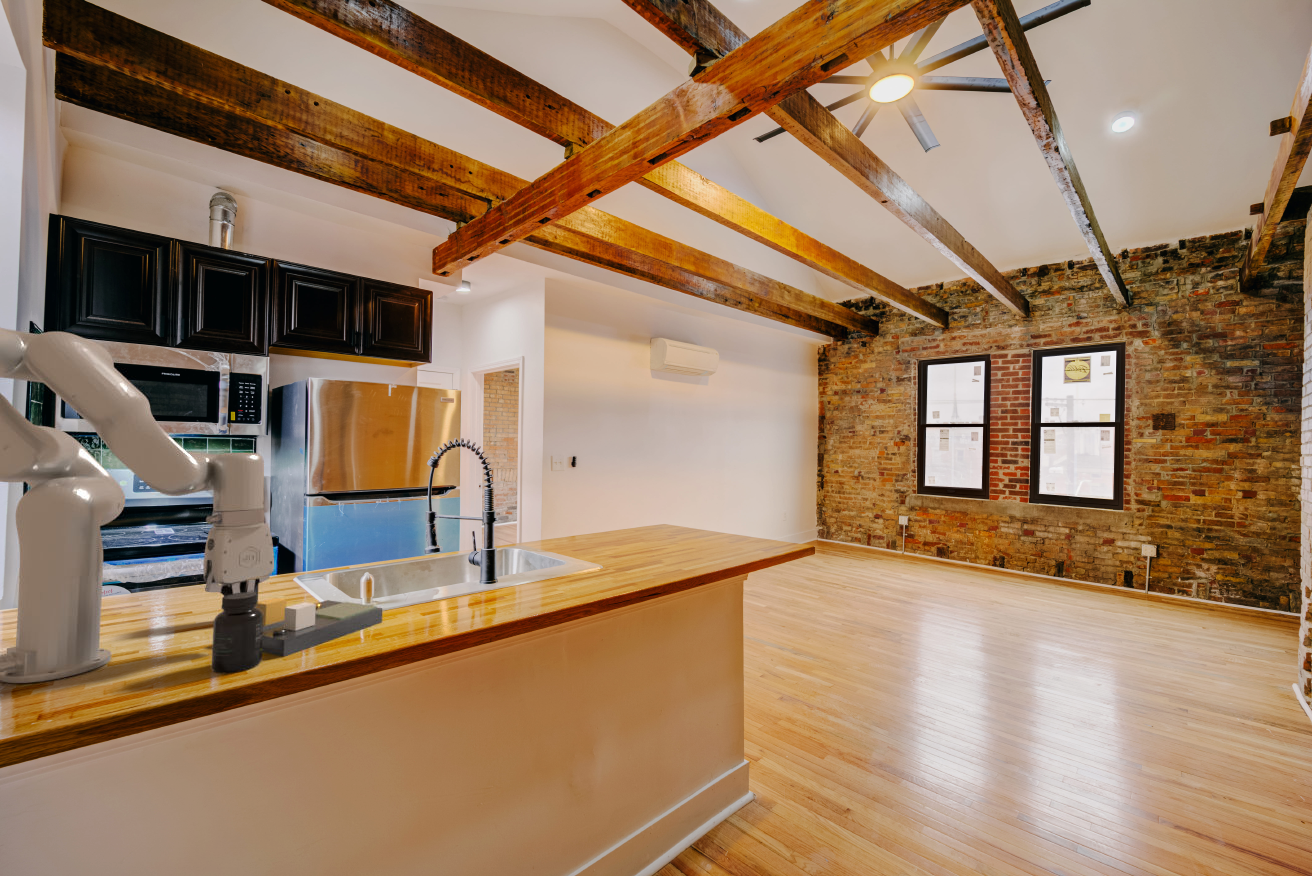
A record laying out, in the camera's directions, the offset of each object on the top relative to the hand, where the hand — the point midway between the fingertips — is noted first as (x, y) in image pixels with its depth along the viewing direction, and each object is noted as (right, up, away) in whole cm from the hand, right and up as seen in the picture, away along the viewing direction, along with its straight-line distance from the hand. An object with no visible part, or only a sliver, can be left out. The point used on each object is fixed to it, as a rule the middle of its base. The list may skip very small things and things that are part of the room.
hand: (238, 617), depth 103 cm
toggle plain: (+9, -3, +3) cm, 10 cm away
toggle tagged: (+2, -3, +6) cm, 7 cm away
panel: (+7, -6, +9) cm, 13 cm away
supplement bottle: (+6, -6, -8) cm, 12 cm away
